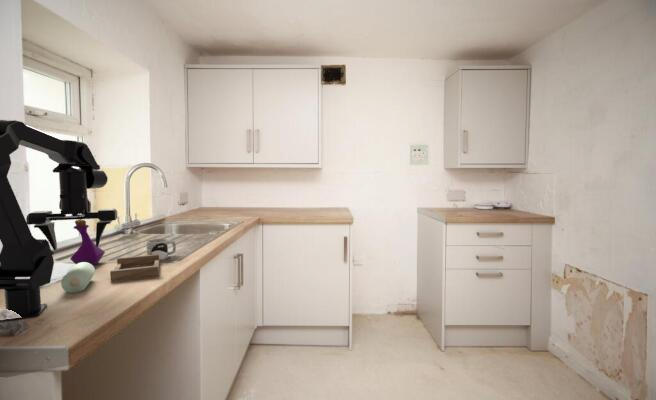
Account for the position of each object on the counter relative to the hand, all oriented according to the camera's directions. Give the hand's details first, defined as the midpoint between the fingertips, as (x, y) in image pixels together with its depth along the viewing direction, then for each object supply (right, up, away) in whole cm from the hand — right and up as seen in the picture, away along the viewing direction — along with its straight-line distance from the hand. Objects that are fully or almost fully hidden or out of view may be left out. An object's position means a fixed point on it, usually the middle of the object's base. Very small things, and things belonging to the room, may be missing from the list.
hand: (76, 248), depth 90 cm
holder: (+8, -9, +15) cm, 19 cm away
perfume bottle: (-12, -9, +22) cm, 26 cm away
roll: (0, -11, +1) cm, 11 cm away
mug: (+8, -8, +31) cm, 33 cm away
